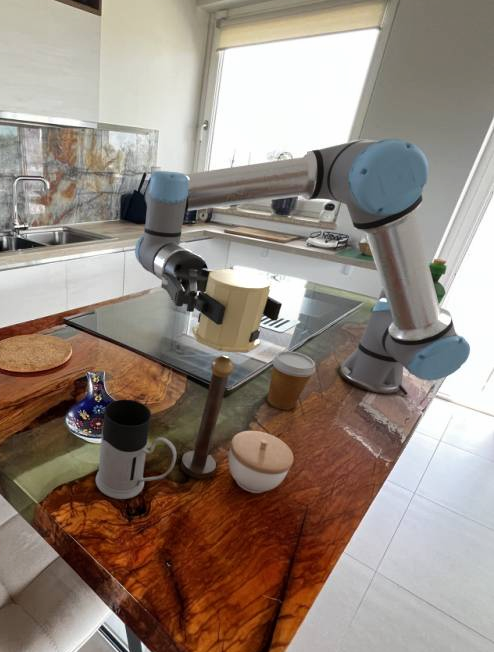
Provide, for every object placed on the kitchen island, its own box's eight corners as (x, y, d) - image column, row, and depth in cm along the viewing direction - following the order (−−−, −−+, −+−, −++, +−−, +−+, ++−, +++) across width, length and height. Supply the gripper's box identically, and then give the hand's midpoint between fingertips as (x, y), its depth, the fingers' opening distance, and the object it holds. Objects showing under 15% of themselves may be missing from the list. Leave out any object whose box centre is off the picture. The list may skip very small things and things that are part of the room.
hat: (268, 340, 69) (286, 281, 63) (237, 358, 62) (254, 294, 56) (214, 320, 74) (227, 264, 69) (181, 335, 67) (192, 274, 62)
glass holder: (116, 457, 79) (124, 391, 72) (178, 496, 72) (194, 427, 64) (85, 480, 73) (89, 411, 66) (149, 525, 66) (162, 454, 58)
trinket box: (272, 512, 71) (289, 471, 66) (214, 485, 75) (225, 445, 70) (286, 476, 79) (302, 438, 74) (233, 454, 83) (244, 416, 78)
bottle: (424, 350, 137) (469, 266, 123) (393, 348, 137) (434, 263, 122) (406, 337, 146) (445, 257, 132) (376, 335, 146) (412, 254, 131)
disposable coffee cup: (303, 416, 97) (321, 372, 91) (262, 409, 98) (276, 365, 92) (297, 396, 105) (312, 354, 99) (259, 389, 106) (272, 347, 100)
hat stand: (220, 468, 79) (252, 358, 67) (202, 484, 75) (232, 370, 63) (193, 451, 83) (217, 344, 70) (174, 466, 79) (197, 355, 66)
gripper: (225, 287, 85) (300, 332, 67) (125, 290, 77) (180, 342, 60) (233, 249, 81) (316, 287, 63) (129, 249, 73) (189, 292, 56)
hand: (250, 314), depth 61 cm, fingers closed on hat, 9 cm apart
